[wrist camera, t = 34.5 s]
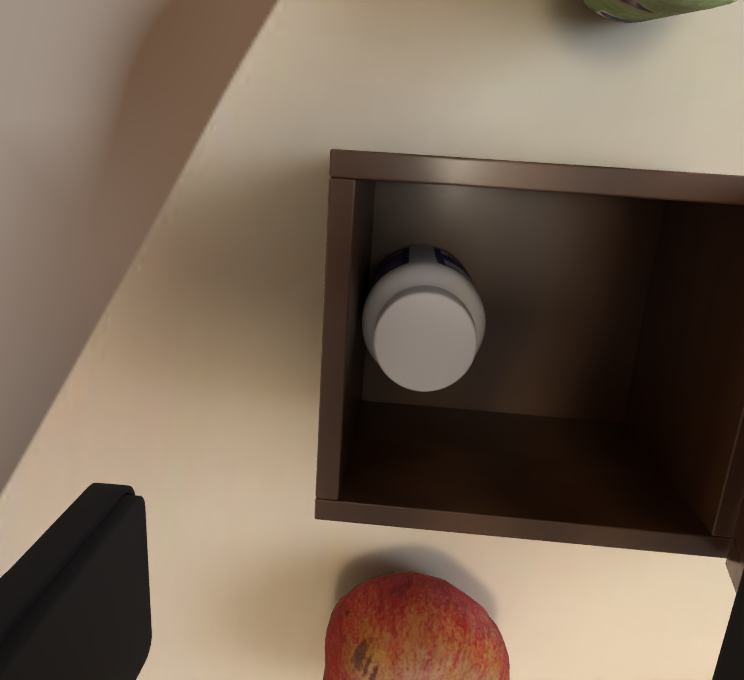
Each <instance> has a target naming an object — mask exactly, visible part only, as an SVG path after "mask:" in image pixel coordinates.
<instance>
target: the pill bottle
mask: <svg viewBox="0 0 744 680" xmlns="http://www.w3.org/2000/svg"><path fill="white" fill-rule="evenodd" d="M485 325H486V320H485V311H484V307H483V303H482V300H481V298H480V295H479V293H478V291H477V289H476V287H475V286H474V284H473V281H472V279H471V277H470V276H469V274H468V272H467V270H466V269H465V267H464V266H463V265H462V263H461V262H460V261H459V260H458V259H457V258H456V257H455V256H453V255H452V254H451V253H449V252H447V251H445V250H443V249H441V248H438V247H434V246H430V245H412V246H408V247H405V248H402V249H399V250H397V251H396V252H394V253H392V254H391V255H390V256H388V257H387V258H386V259H385V260H384V261H383V262H382V263H381V264H380V266H379V267H378V269H377V270H376V272H375V274H374V276H373V279H372V281H371V284H370V288H369V291H368V294H367V297H366V300H365V304H364V307H363V312H362V333H363V337H364V341H365V344H366V346H367V348H368V350H369V352H370V354H371V355H372V357H373V358H374V360H375V361H376V362H377V363H378V364H379V366H380V367H381V369H382V370H383V372H384V373H385V374H386V375H387V376H388V377H389V378H390V379H391V380H392V381H394V382H395V383H397V384H398V385H400V386H402V387H405V388H407V389H411V390H415V391H423V392H425V391H435V390H440V389H443V388H445V387H448V386H450V385H451V384H453V383H455V382H456V381H457V380H459V379H460V378H461V377H462V376H463V375H464V374H465V373H466V372H467V370H468V369H469V368H470V366H471V364H472V362H473V360H474V357H475V355H476V353H477V352H478V350H479V348H480V346H481V343H482V341H483V337H484V333H485Z"/></svg>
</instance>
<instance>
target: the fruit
mask: <svg viewBox="0 0 744 680" xmlns="http://www.w3.org/2000/svg"><path fill="white" fill-rule="evenodd" d="M509 669H510V665H509V656H508V653H507V650H506V646H505V643H504V640H503V638H502V635H501V633H500V631H499V629H498V627H497V625H496V624H495V623H494V622H493V620H492V619H491V618H490V617H489V615H488V614H487V612H486V611H485V609H484V608H483V607H482V606H481V605H480V604H478V603H477V602H476V601H474V600H473V599H472V598H470V597H469V596H468V595H466V594H465V593H463V592H462V591H460V590H459V589H457V588H456V587H455V586H453V585H451V584H450V583H448V582H447V581H445V580H442V579H439V578H436V577H432V576H428V575H424V574H419V573H413V572H400V573H391V574H387V575H382V576H378V577H375V578H373V579H370V580H368V581H366V582H364V583H362V584H360V585H358V586H357V587H355V588H354V589H353V590H351V591H350V592H349V593H348V594H347V595H345V596H344V597H342V598H341V599H340V600H339V602H338V603H337V604H336V606H335V608H334V610H333V612H332V614H331V618H330V621H329V625H328V628H327V632H326V638H325V670H324V676H323V680H510V677H509Z"/></svg>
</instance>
